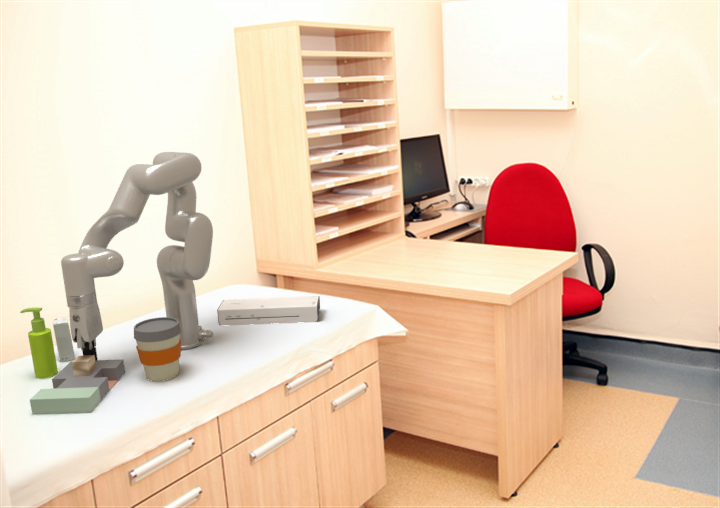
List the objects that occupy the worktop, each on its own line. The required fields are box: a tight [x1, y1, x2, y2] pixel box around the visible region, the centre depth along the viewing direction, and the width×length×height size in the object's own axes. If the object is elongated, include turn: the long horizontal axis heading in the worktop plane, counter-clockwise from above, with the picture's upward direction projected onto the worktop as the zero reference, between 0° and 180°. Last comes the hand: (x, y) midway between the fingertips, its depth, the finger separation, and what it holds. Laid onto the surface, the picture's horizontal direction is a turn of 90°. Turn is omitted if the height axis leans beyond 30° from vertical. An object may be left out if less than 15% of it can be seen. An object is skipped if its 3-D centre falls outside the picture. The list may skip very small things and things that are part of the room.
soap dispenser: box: [19, 307, 59, 380], centre depth 186 cm, size 6×7×20 cm
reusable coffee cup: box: [133, 316, 182, 382], centre depth 183 cm, size 13×13×15 cm
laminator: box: [216, 295, 321, 326], centre depth 228 cm, size 34×12×6 cm, turn 90°
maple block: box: [71, 355, 96, 376], centre depth 178 cm, size 4×4×4 cm
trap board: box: [29, 358, 126, 415], centre depth 176 cm, size 15×24×4 cm, turn 0°
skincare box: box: [52, 316, 76, 363], centre depth 199 cm, size 6×4×12 cm
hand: (90, 361), depth 183 cm, fingers closed
